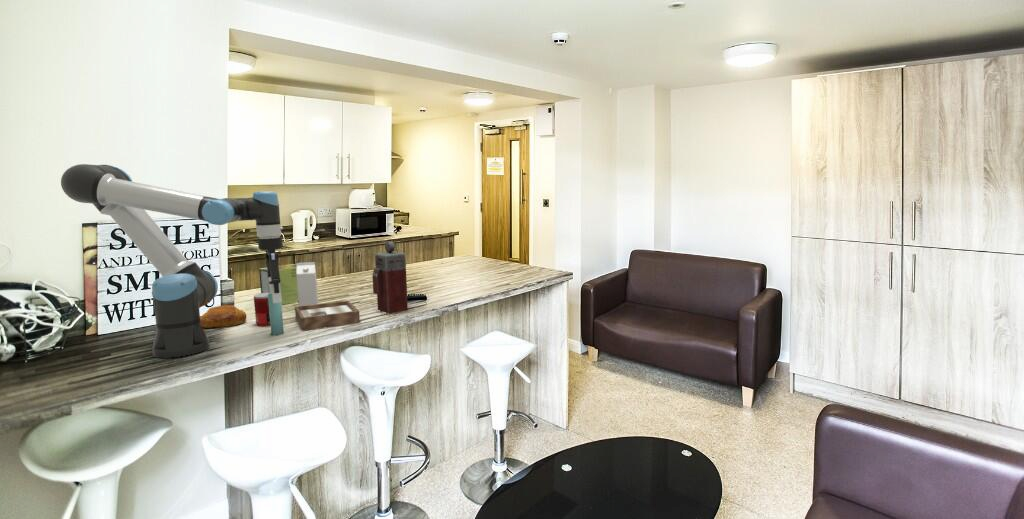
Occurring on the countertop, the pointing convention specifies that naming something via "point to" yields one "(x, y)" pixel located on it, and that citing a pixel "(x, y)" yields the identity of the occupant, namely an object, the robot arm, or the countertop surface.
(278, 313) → the peg
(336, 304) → the box
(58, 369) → the countertop surface
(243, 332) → the countertop surface
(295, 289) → the protein box
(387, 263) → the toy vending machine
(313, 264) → the milk carton
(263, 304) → the canned food
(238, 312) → the croissant
